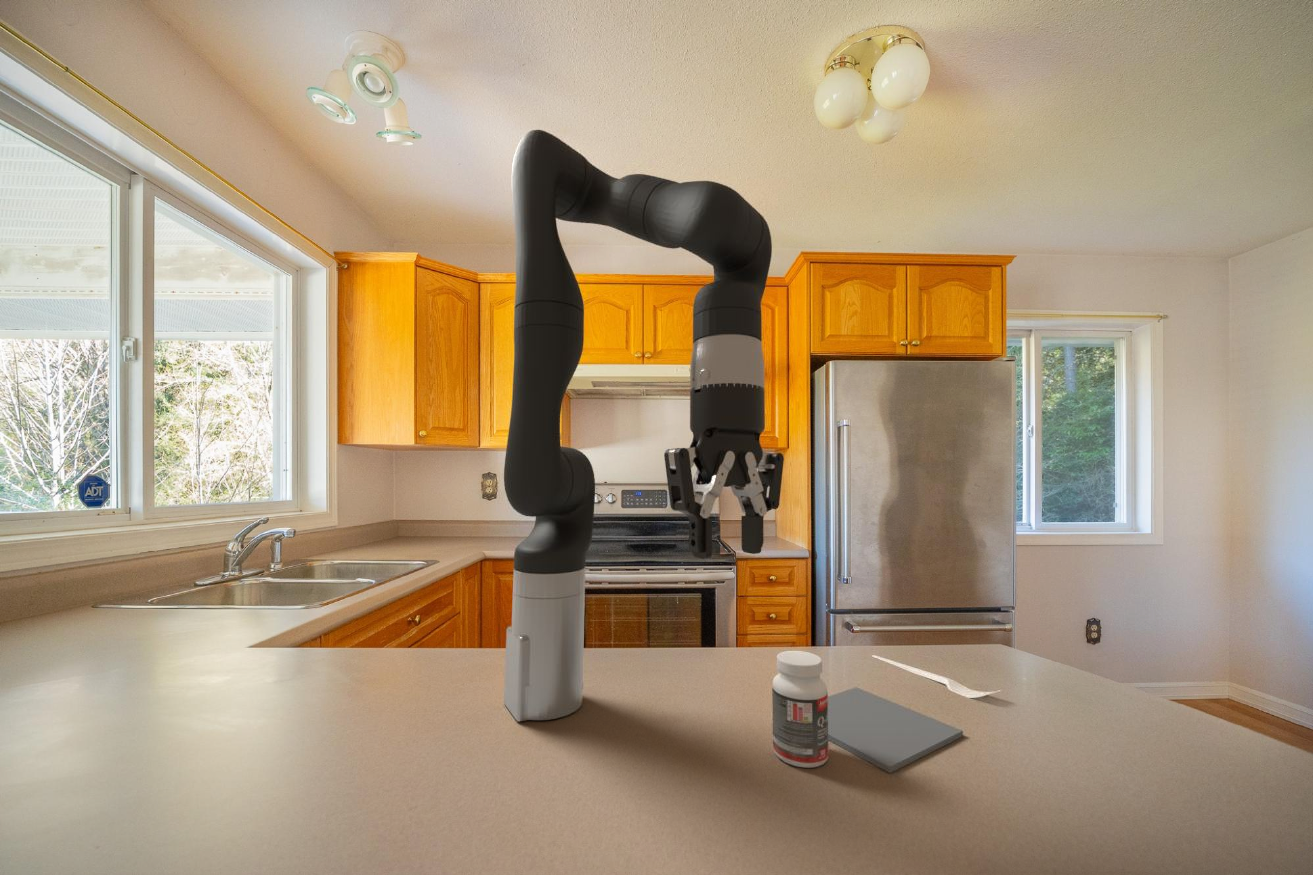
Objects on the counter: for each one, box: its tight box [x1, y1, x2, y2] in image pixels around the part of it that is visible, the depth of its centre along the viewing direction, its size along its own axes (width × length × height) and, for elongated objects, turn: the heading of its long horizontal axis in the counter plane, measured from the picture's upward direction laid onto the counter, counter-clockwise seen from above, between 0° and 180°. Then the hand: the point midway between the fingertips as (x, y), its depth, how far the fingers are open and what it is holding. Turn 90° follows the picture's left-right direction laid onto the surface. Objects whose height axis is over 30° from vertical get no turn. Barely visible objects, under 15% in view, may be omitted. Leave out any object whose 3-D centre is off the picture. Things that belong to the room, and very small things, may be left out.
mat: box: [828, 686, 964, 774], centre depth 59 cm, size 14×14×1 cm
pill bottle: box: [771, 650, 830, 769], centre depth 53 cm, size 6×6×10 cm
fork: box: [871, 654, 1002, 699], centre depth 74 cm, size 3×20×2 cm, turn 25°
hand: (727, 554), depth 49 cm, fingers open, 5 cm apart
